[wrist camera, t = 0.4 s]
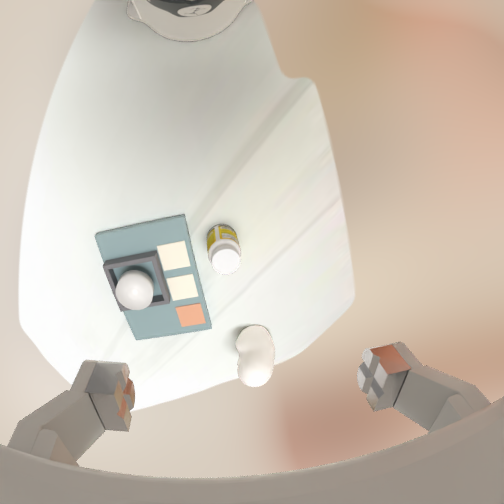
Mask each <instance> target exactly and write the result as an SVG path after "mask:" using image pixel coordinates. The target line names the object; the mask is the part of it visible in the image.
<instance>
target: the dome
mask: <svg viewBox="0 0 504 504" xmlns="http://www.w3.org/2000/svg"><path fill="white" fill-rule="evenodd" d="M115 293H116V297H117V299H118V301H119V302H120V303H121V304H122V305H123V306H124V307H126V308H128V309H131V310H142V309H144V308H146V307H148V306H149V305H150V303H151V302H152V298H153V293H154V283H153V281H152V279H151V278H150V277H149V276H148V275H147V274H146V273H144V272H142V271H139V270H129V271H127V272H125V273H123V274H122V275H121V277H120V279H119V281H118V284H117V286H116V290H115Z"/></svg>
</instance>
